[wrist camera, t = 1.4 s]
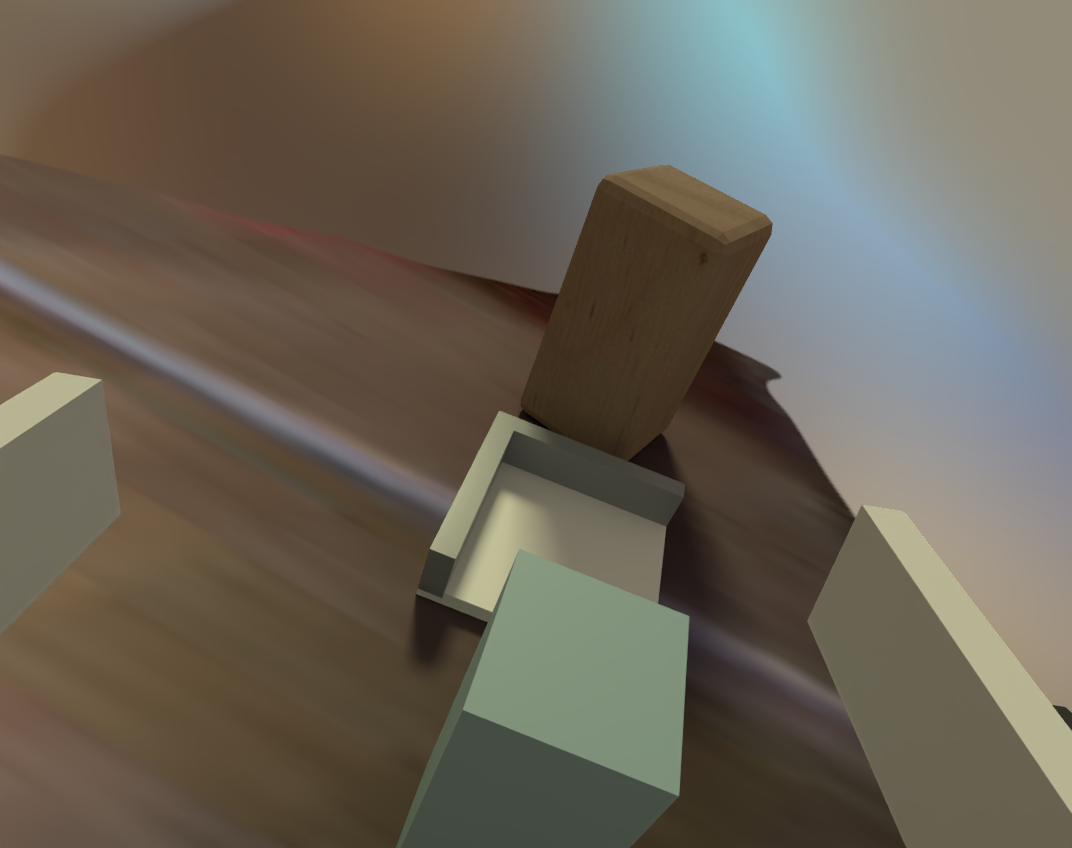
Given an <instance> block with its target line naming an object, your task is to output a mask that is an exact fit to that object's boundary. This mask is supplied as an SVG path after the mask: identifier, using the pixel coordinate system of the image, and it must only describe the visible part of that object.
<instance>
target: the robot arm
mask: <svg viewBox="0 0 1072 848" xmlns="http://www.w3.org/2000/svg"><path fill="white" fill-rule="evenodd" d="M120 514H121V512H120V505H119V498H118V490H117V483H116V476H115V469H114V462H113V455H112V448H111V441H110V433H109V426H108V419H107V412H106V405H105V398H104V391H103V383H102V380H100V379H94V378H88V377H82V376H76V375H70V374H64V373H58V372H55V373H53V374H51V375H50V376H48V377H46V378H45V379H43V380H41V381H40V382H38V383H36V384H35V385H33V386H31V387H30V388H28V389H26V390H25V391H23V392H21V393H20V394H18V395H16V396H14V397H13V398H11V399H9V400H8V401H6V402H4V403H3V404H1V405H0V635H1V634H2V633H3V632H4V631H5V630H6V629H7V628H8V627H9V626H10V625H11V624H12V623H13V622H14V621H15V620H16V619H17V618H18V617H19V616H20V615H21V614H22V613H23V612H24V611H25V610H26V609H27V608H28V607H29V606H30V605H31V604H32V603H33V602H34V601H35V600H36V599H37V598H38V597H39V596H40V595H41V594H42V593H43V592H44V591H45V590H46V589H47V588H48V587H49V586H50V585H51V584H52V583H53V582H54V581H55V580H56V579H57V578H58V577H59V576H60V575H61V574H62V573H63V572H64V571H65V570H66V569H67V568H68V567H69V566H70V565H71V564H72V563H73V562H74V561H75V560H76V559H77V558H78V557H79V556H80V555H81V554H82V553H83V552H84V551H85V550H86V549H87V548H88V547H89V546H90V545H91V544H92V542H93V541H94V540H95V539H96V538H97V537H98V536H99V535H100V534H101V533H102V532H103V531H104V530H105V529H106V528H107V527H108V526H109V525H110V524H111V523H112V522H113V521H114V520H115V519H116V518H117V517H118V516H119V515H120ZM807 622H808V624H809V626H810V628H811V631H812V633H813V635H814V638H815V640H816V642H817V644H818V647H819V649H820V651H821V654H822V656H823V658H824V660H825V663H826V665H827V667H828V670H829V672H830V674H831V676H832V679H833V681H834V683H835V686H836V688H837V690H838V693H839V695H840V697H841V699H842V702H843V704H844V706H845V709H846V711H847V713H848V715H849V718H850V720H851V722H852V725H853V727H854V729H855V731H856V734H857V736H858V738H859V741H860V743H861V745H862V747H863V750H864V752H865V754H866V757H867V759H868V761H869V763H870V766H871V768H872V770H873V773H874V775H875V777H876V779H877V782H878V784H879V786H880V789H881V791H882V793H883V795H884V798H885V800H886V802H887V805H888V807H889V809H890V812H891V814H892V816H893V818H894V821H895V823H896V825H897V828H898V830H899V832H900V834H901V837H902V839H903V841H904V844H905V846H906V848H1072V713H1071V712H1070V711H1069V710H1068V709H1067V708H1065V707H1061V706H1055V705H1051V703H1050V702H1049V701H1048V699H1047V698H1046V697H1045V695H1044V694H1043V693H1042V691H1041V690H1040V689H1039V687H1038V686H1037V685H1036V684H1035V682H1034V681H1033V680H1032V678H1031V677H1030V676H1029V674H1028V673H1027V672H1026V670H1025V669H1024V668H1023V666H1022V665H1021V664H1020V663H1019V661H1018V660H1017V659H1016V657H1015V656H1014V655H1013V653H1012V652H1011V651H1010V649H1009V648H1008V647H1007V646H1006V644H1005V643H1004V642H1003V640H1002V639H1001V638H1000V636H999V635H998V634H997V633H996V631H995V630H994V628H993V627H992V626H991V625H990V623H989V622H988V621H987V619H986V618H985V617H984V615H983V614H982V613H981V612H980V610H979V609H978V608H977V606H976V605H975V604H974V602H973V601H972V600H971V598H970V597H969V596H968V595H967V593H966V592H965V591H964V590H963V588H962V587H961V585H960V584H959V583H958V581H957V580H956V579H955V578H954V576H953V575H952V574H951V572H950V571H949V570H948V568H947V567H946V566H945V564H944V563H943V562H942V560H941V559H940V558H939V557H938V555H937V554H936V553H935V551H934V550H933V549H932V547H931V546H930V545H929V543H928V542H927V541H926V539H925V538H924V537H923V535H922V534H921V533H920V532H919V530H918V529H917V528H916V526H915V525H914V524H913V522H912V521H911V520H910V519H909V517H908V516H907V515H906V513H905V512H904V511H898V510H892V509H886V508H880V507H874V506H868V505H862V506H861V508H860V510H859V512H858V514H857V516H856V518H855V521H854V523H853V525H852V527H851V529H850V531H849V533H848V536H847V538H846V540H845V542H844V544H843V546H842V548H841V551H840V553H839V555H838V557H837V559H836V561H835V563H834V565H833V568H832V570H831V572H830V574H829V576H828V578H827V580H826V583H825V585H824V587H823V589H822V591H821V593H820V595H819V598H818V600H817V602H816V604H815V606H814V608H813V610H812V612H811V615H810V617H809V619H808V621H807Z"/></svg>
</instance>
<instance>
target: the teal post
mask: <svg viewBox="0 0 1072 848" xmlns="http://www.w3.org/2000/svg"><path fill="white" fill-rule="evenodd" d="M688 631H689V616H687V615H685V614H682V613H680V612H677V611H675V610H672V609H670V608H667V607H665V606H662V605H660V604H657V603H655V602H652V601H650V600H647V599H645V598H642V597H639V596H637V595H634V594H632V593H629V592H627V591H624V590H622V589H619V588H617V587H614V586H612V585H609V584H607V583H604V582H602V581H599V580H597V579H594V578H592V577H589V576H587V575H584V574H581V573H579V572H576V571H574V570H571V569H569V568H566V567H564V566H561V565H559V564H556V563H554V562H551V561H549V560H546V559H544V558H541V557H539V556H536V555H534V554H531V553H528V552H526V551H523V550H521V549H519V551H518V553H517V556H516V558H515V560H514V563H513V565H512V567H511V570H510V572H509V574H508V577H507V579H506V581H505V584H504V586H503V588H502V591H501V593H500V595H499V598H498V600H497V602H496V605H495V607H494V609H493V612H492V614H491V616H490V619H489V621H488V623H487V626H486V628H485V630H484V633H483V635H482V637H481V640H480V642H479V644H478V647H477V649H476V652H475V654H474V656H473V659H472V661H471V663H470V666H469V668H468V670H467V673H466V675H465V677H464V680H463V682H462V684H461V687H460V689H459V691H458V694H457V696H456V698H455V701H454V703H453V705H452V708H451V710H450V712H449V715H448V717H447V719H446V722H445V724H444V726H443V729H442V731H441V733H440V736H439V738H438V740H437V743H436V745H435V747H434V750H433V752H432V754H431V757H430V759H429V761H428V764H427V766H426V768H425V771H424V774H423V776H422V779H421V782H420V784H419V787H418V790H417V792H416V795H415V798H414V800H413V803H412V806H411V808H410V811H409V814H408V817H407V819H406V822H405V825H404V827H403V830H402V833H401V835H400V838H399V841H398V843H397V846H396V848H630V847H631V846H632V845H633V844H634V843H635V842H636V841H637V840H638V839H639V837H640V836H641V835H642V834H643V833H644V832H645V831H646V830H647V829H648V828H649V827H650V826H651V825H652V824H653V823H654V822H655V821H656V820H657V819H658V818H659V817H660V816H661V815H662V813H663V812H664V811H665V810H666V809H667V808H668V807H669V806H670V805H671V804H672V803H673V802H674V801H675V800H676V799H677V798H678V797H679V788H680V770H681V753H682V736H683V718H684V701H685V683H686V666H687V649H688Z"/></svg>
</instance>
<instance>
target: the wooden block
mask: <svg viewBox="0 0 1072 848" xmlns="http://www.w3.org/2000/svg"><path fill="white" fill-rule="evenodd" d="M771 232H772V222H771V221H770V220H769V218H768V217H767V216H766V215H765V214H763V213H761V212H759V211H757V210H755V209H753V208H751V207H749V206H747V205H746V204H743V203H742V202H740V201H738V200H736V199H734V198H732V197H730V196H728V195H726V194H724V193H722V192H720V191H718V190H716V189H714V188H713V187H710V186H708V185H707V184H705V183H703V182H701V181H699V180H697V179H695V178H693V177H691V176H689V175H687V174H686V173H684V172H682V171H680V170H678V169H676V168H674V167H672V166H670V165H659V166H653V167H648V168H642V169H637V170H632V171H626V172H621V173H615V174H611V175H606V176H605V177H604V179H603V180H602V181H601V182H600V183H599V185H598V187H597V189H596V192H595V195H594V198H593V201H592V203H591V206H590V209H589V212H588V215H587V217H586V220H585V223H584V226H583V228H582V231H581V234H580V237H579V240H578V242H577V245H576V248H575V251H574V254H573V256H572V259H571V262H570V265H569V268H568V270H567V273H566V276H565V279H564V281H563V284H562V287H561V290H560V292H559V295H558V298H557V301H556V304H555V306H554V309H553V312H552V315H551V318H550V320H549V323H548V326H547V329H546V332H545V334H544V337H543V340H542V343H541V345H540V348H539V351H538V354H537V357H536V359H535V362H534V365H533V368H532V371H531V373H530V376H529V379H528V382H527V384H526V387H525V390H524V393H523V396H522V398H521V407H522V408H523V410H524V411H525V412H526V413H527V414H529V415H530V416H532V417H533V418H534V419H536V420H537V421H539V422H540V423H541V424H543V425H544V426H546V427H547V428H548V429H550V430H551V431H553V432H554V433H557V434H560V435H562V436H565V437H567V438H570V439H572V440H575V441H577V442H580V443H582V444H585V445H587V446H590V447H593V448H595V449H598V450H600V451H603V452H605V453H608V454H610V455H613V456H615V457H618V458H620V459H623V460H625V461H628V460H630V459H631V458H632V457H633V456H634V455H636V454H637V453H638V452H639V451H640V450H642V449H643V448H644V447H645V446H646V445H647V444H649V443H650V442H651V441H652V440H653V439H655V438H656V437H657V436H658V435H659V434H660V433H662V432H663V431H664V430H665V429H666V428H667V427H668V425H669V424H670V422H671V420H672V418H673V416H674V414H675V412H676V411H677V409H678V407H679V405H680V403H681V401H682V399H683V398H684V396H685V394H686V392H687V390H688V388H689V386H690V385H691V383H692V381H693V379H694V377H695V375H696V373H697V372H698V370H699V368H700V366H701V364H702V362H703V360H704V359H705V357H706V355H707V353H708V351H709V349H710V347H711V346H712V344H713V342H714V340H715V338H716V336H717V334H718V333H719V331H720V329H721V327H722V325H723V323H724V321H725V319H726V318H727V316H728V314H729V312H730V310H731V308H732V306H733V305H734V303H735V301H736V299H737V297H738V295H739V293H740V292H741V290H742V288H743V286H744V284H745V282H746V280H747V279H748V277H749V275H750V273H751V271H752V269H753V268H754V266H755V264H756V262H757V260H758V258H759V256H760V255H761V253H762V251H763V249H764V247H765V245H766V243H767V242H768V240H769V238H770V236H771Z"/></svg>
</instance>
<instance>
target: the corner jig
mask: <svg viewBox="0 0 1072 848" xmlns="http://www.w3.org/2000/svg"><path fill="white" fill-rule="evenodd" d="M684 490H685V484H684V483H681V482H679V481H676V480H674V479H671V478H669V477H666V476H664V475H661V474H658V473H656V472H653V471H651V470H648V469H646V468H643V467H641V466H638V465H636V464H633V463H631V462H628V461H625V460H623V459H620V458H618V457H615V456H613V455H610V454H608V453H605V452H603V451H600V450H598V449H595V448H593V447H590V446H587V445H585V444H582V443H580V442H577V441H575V440H572V439H570V438H567V437H565V436H562V435H560V434H557V433H554V432H552V431H549V430H547V429H544V428H542V427H539V426H537V425H534V424H532V423H529V422H527V421H524V420H522V419H519V418H516V417H514V416H511V415H509V414H506V413H504V412H501V411H499V413H498V415H497V417H496V419H495V421H494V422H493V424H492V426H491V428H490V430H489V432H488V434H487V436H486V438H485V440H484V442H483V444H482V446H481V448H480V450H479V452H478V454H477V456H476V458H475V460H474V462H473V464H472V466H471V468H470V470H469V472H468V474H467V476H466V478H465V480H464V482H463V484H462V486H461V488H460V490H459V492H458V494H457V496H456V498H455V500H454V502H453V504H452V506H451V508H450V510H449V512H448V514H447V516H446V518H445V520H444V522H443V524H442V526H441V528H440V530H439V532H438V534H437V536H436V538H435V540H434V542H433V544H432V546H431V548H430V550H429V553H428V557H427V560H426V563H425V566H424V570H423V573H422V576H421V579H420V582H419V586H418V589H417V592H416V594H418V595H420V596H423V597H425V598H428V599H430V600H433V601H435V602H438V603H440V604H443V605H445V606H448V607H450V608H453V609H455V610H458V611H460V612H463V613H465V614H468V615H470V616H473V617H475V618H478V619H480V620H483V621H486V622H488V621H489V619H490V616H491V614H492V612H493V609H494V607H495V605H496V602H497V600H498V598H499V595H500V593H501V591H502V588H503V586H504V584H505V581H506V579H507V577H508V574H509V572H510V570H511V567H512V565H513V563H514V560H515V558H516V556H517V553H518V551H519V549H521V550H523V551H526V552H528V553H531V554H534V555H536V556H539V557H541V558H544V559H546V560H549V561H551V562H554V563H556V564H559V565H561V566H564V567H566V568H569V569H571V570H574V571H576V572H579V573H581V574H584V575H587V576H589V577H592V578H594V579H597V580H599V581H602V582H604V583H607V584H609V585H612V586H614V587H617V588H619V589H622V590H624V591H627V592H629V593H632V594H634V595H637V596H639V597H642V598H645V599H647V600H650V601H652V602H655V603H657V604H658V599H659V590H660V580H661V571H662V562H663V552H664V543H665V534H666V526H667V525H668V523H669V521H670V520H671V518H672V516H673V515H674V513H675V511H676V510H677V508H678V506H679V505H680V503H681V501H682V500H683V498H684Z"/></svg>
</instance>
